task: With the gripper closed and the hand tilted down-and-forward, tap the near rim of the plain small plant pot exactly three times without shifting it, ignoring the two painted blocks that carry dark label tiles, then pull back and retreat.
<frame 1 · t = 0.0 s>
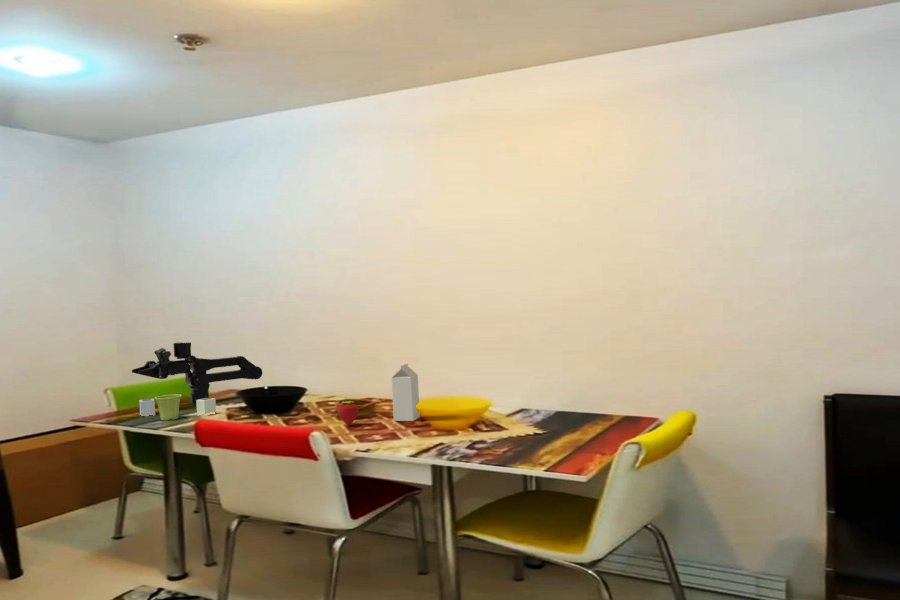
hand: (135, 372, 273), 17 cm above the table, tool horizontal, fingers open, 9 cm apart
sage block: (206, 414, 262), on the table
plant pot: (169, 419, 256), on the table
strawberry: (348, 426, 228), on the table
slate block: (147, 415, 267), on the table
milk carton: (406, 420, 234), on the table
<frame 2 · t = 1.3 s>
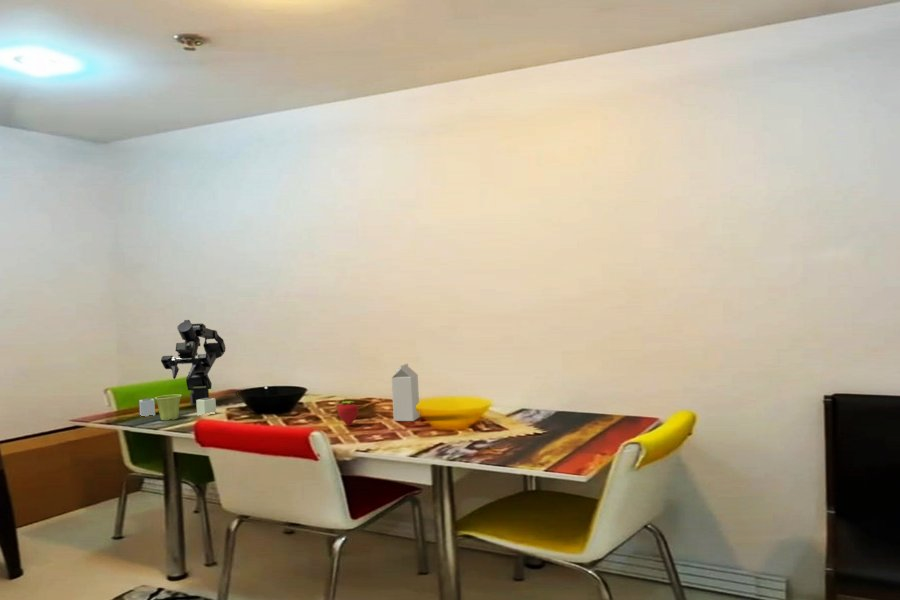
hand: (181, 377, 270), 14 cm above the table, tool tilted 45°, fingers open, 6 cm apart
nothing on the table moved.
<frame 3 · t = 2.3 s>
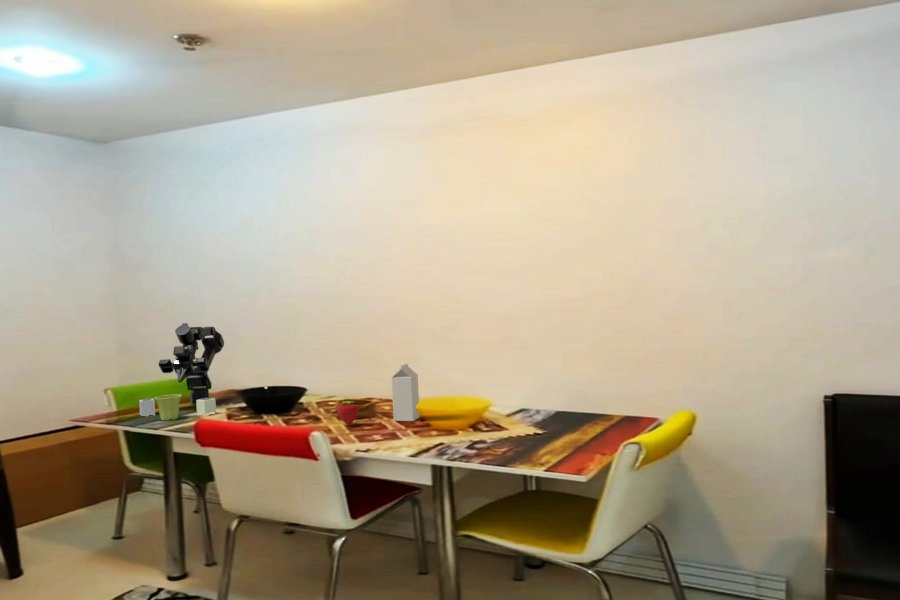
hand: (179, 381, 268), 12 cm above the table, tool tilted 45°, fingers closed
nothing on the table moved.
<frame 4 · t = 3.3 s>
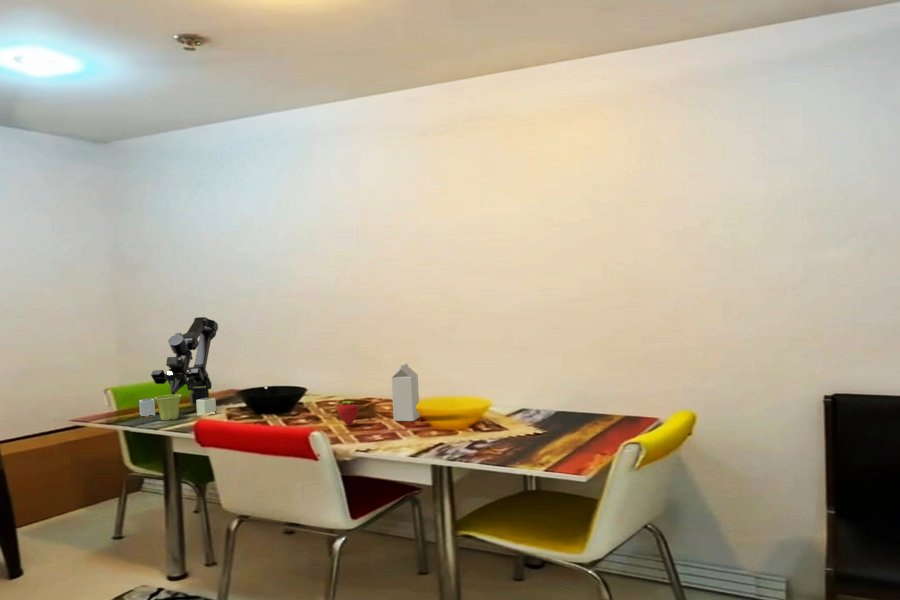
hand: (172, 393, 260), 9 cm above the table, tool tilted 45°, fingers closed
plant pot: (169, 419, 256), on the table, touching gripper
everything else where it was.
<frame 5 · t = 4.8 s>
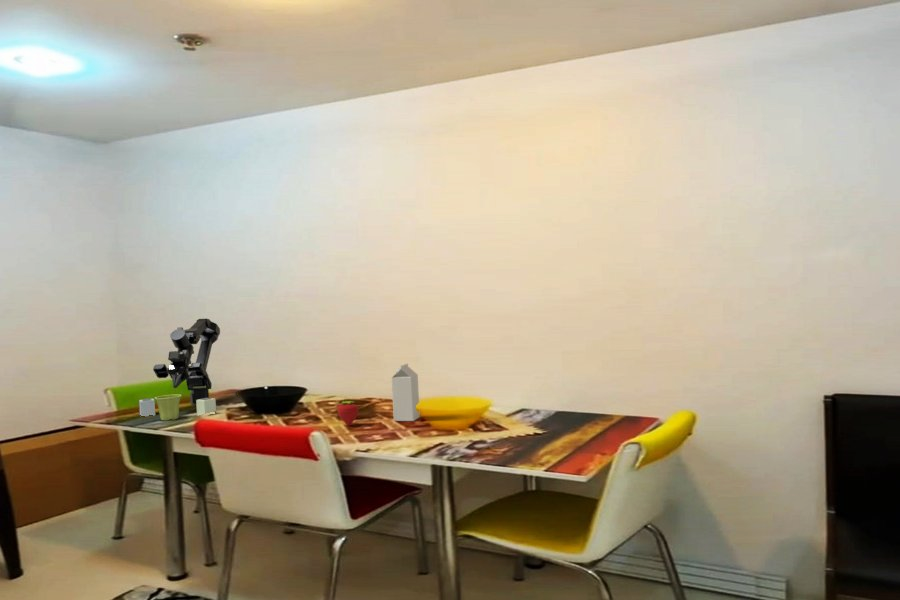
hand: (174, 387, 263), 11 cm above the table, tool tilted 45°, fingers closed
plant pot: (169, 419, 256), on the table
everything else where it was.
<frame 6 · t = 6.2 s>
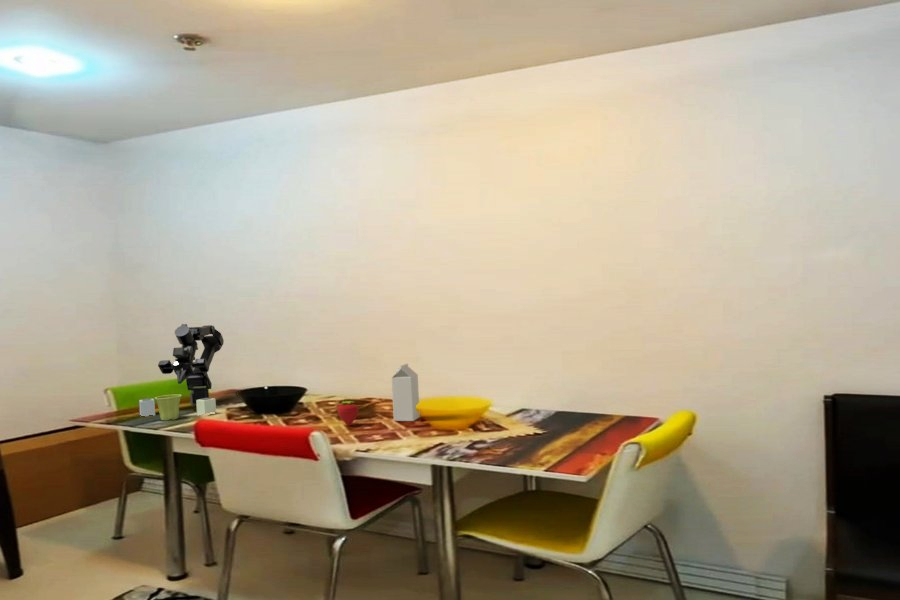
hand: (179, 383, 267), 12 cm above the table, tool tilted 45°, fingers closed
nothing on the table moved.
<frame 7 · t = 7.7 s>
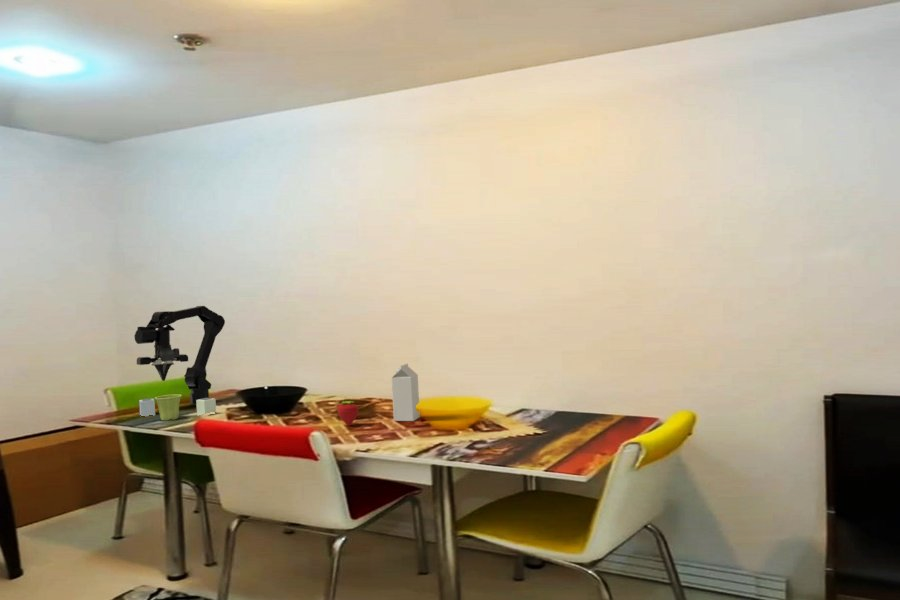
hand: (163, 380, 276), 12 cm above the table, tool pointing down, fingers closed
nothing on the table moved.
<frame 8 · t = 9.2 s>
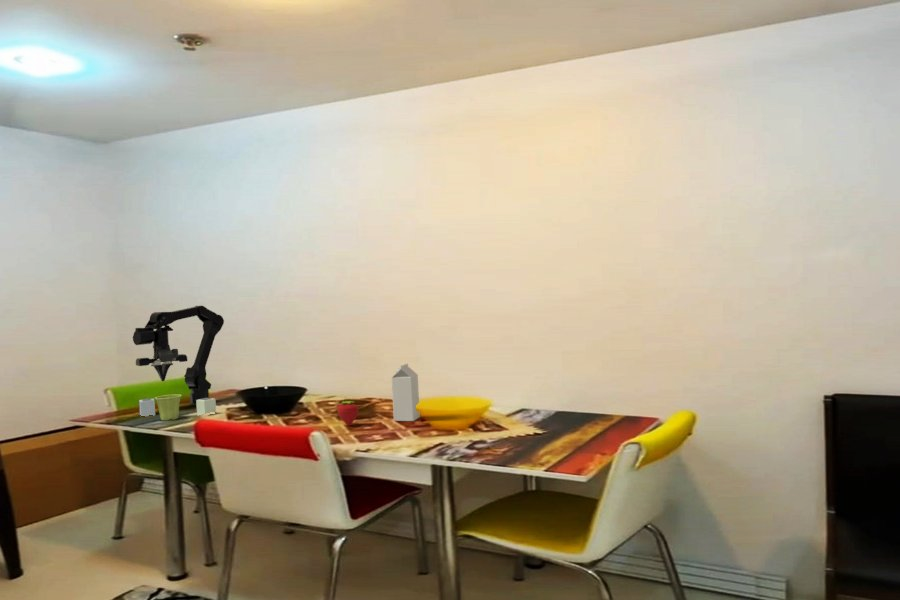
hand: (163, 381, 276), 12 cm above the table, tool pointing down, fingers closed
nothing on the table moved.
at the end: plant pot moved 0.2 cm from its start; plant pot tilted 0°; the gripper is holding nothing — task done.
